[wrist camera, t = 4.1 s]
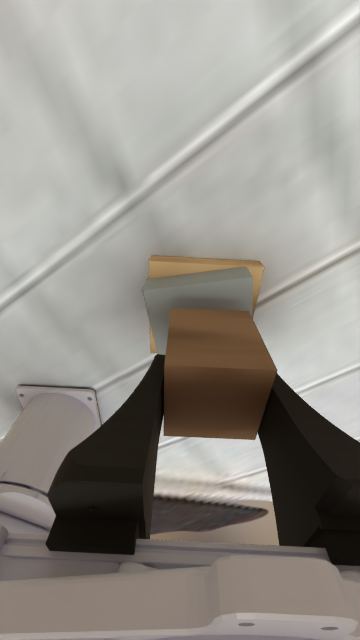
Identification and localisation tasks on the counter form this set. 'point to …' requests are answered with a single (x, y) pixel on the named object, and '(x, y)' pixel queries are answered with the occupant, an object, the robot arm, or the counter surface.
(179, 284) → the gray slab
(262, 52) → the counter surface
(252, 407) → the walnut block
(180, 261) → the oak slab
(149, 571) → the robot arm
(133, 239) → the counter surface
